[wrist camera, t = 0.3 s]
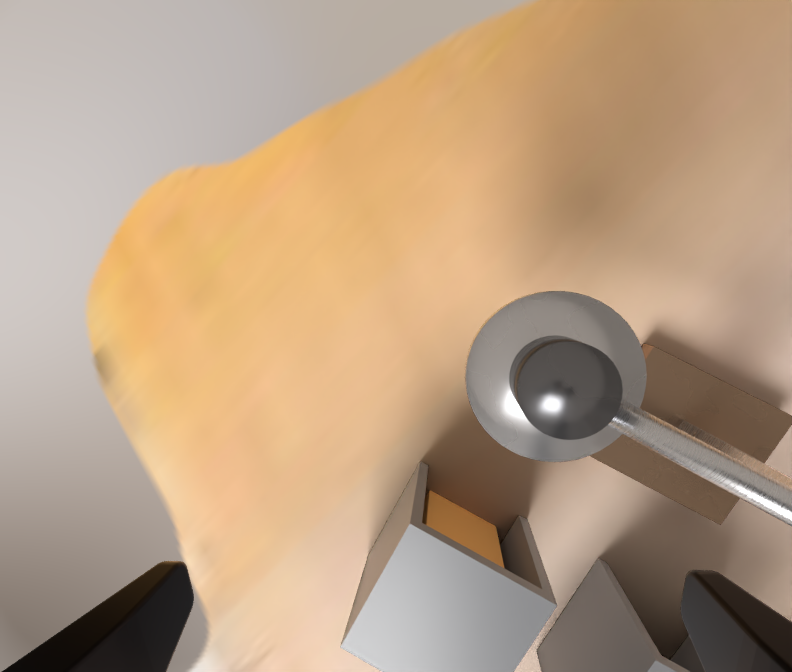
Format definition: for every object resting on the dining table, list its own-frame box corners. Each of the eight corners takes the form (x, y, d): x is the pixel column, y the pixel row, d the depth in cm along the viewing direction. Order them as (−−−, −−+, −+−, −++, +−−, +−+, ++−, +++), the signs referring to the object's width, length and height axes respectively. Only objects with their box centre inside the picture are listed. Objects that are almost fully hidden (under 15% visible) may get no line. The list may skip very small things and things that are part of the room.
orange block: (460, 583, 23) (463, 645, 19) (396, 547, 23) (385, 601, 19) (495, 525, 22) (506, 576, 18) (429, 489, 22) (425, 531, 18)
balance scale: (862, 595, 20) (1512, 1072, 8) (438, 372, 21) (425, 478, 9) (943, 494, 19) (1823, 855, 7) (494, 268, 20) (562, 234, 8)
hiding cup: (469, 613, 23) (477, 727, 17) (367, 555, 23) (340, 647, 17) (527, 519, 22) (557, 605, 16) (420, 461, 22) (409, 523, 16)
